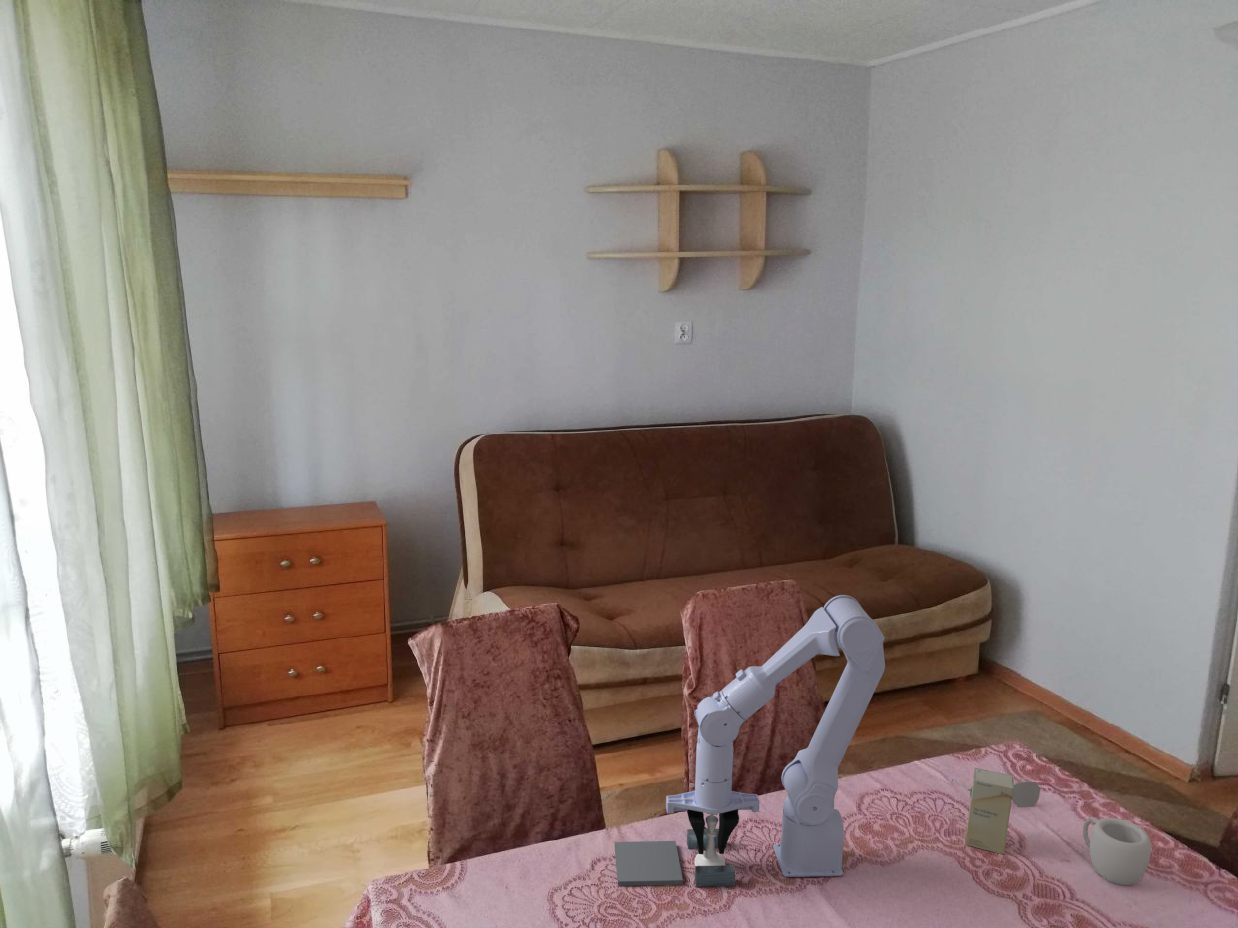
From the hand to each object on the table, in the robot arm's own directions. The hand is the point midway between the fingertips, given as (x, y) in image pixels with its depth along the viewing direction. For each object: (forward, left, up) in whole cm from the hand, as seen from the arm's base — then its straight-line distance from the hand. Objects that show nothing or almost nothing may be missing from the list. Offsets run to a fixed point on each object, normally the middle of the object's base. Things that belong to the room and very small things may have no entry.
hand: (710, 850), depth 151 cm
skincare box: (-47, -4, -3) cm, 47 cm away
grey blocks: (0, 0, -2) cm, 2 cm away
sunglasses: (-55, -18, -3) cm, 58 cm away
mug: (-64, +3, -3) cm, 64 cm away
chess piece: (0, 0, -3) cm, 3 cm away
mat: (+10, 0, -2) cm, 10 cm away
